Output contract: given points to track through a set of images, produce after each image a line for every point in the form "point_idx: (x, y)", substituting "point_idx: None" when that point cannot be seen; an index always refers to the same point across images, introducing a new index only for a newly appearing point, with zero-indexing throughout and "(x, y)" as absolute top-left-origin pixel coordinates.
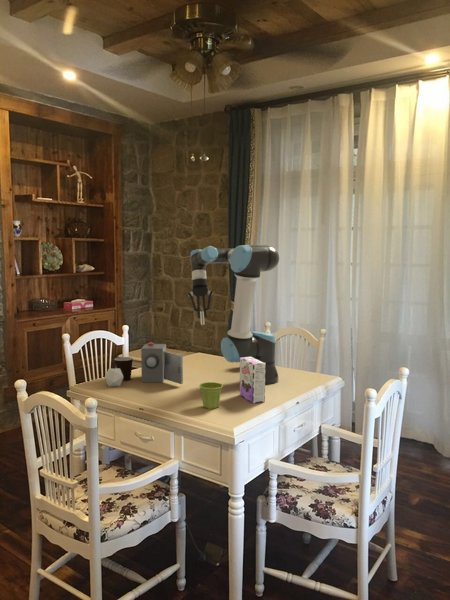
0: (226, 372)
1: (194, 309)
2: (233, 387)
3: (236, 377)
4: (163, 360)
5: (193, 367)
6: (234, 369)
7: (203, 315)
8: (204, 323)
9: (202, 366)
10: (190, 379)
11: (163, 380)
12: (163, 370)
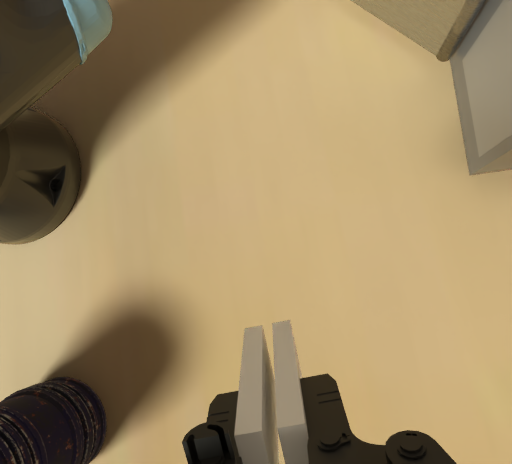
0: (181, 300)
1: (424, 443)
2: (125, 44)
3: (127, 209)
4: (492, 18)
5: (369, 393)
6: (149, 371)
7: (247, 387)
8: (246, 330)
9: None
10: (329, 134)
11: (453, 73)
12: (470, 48)
